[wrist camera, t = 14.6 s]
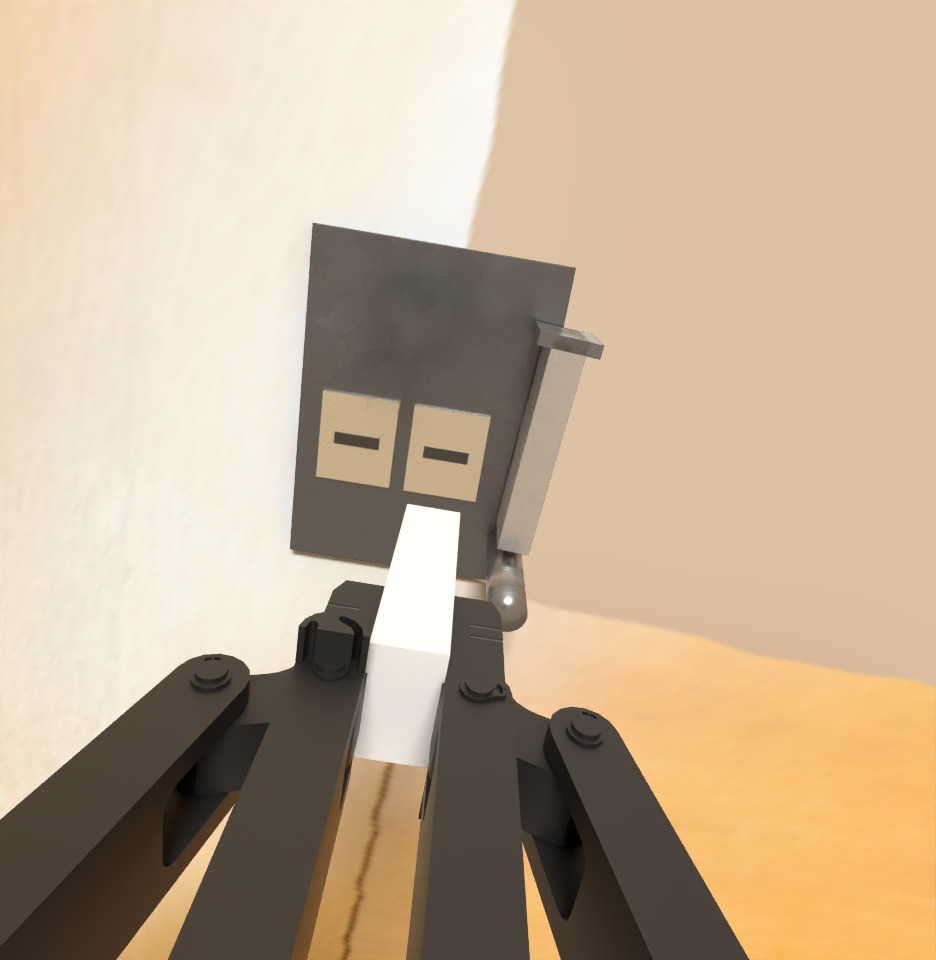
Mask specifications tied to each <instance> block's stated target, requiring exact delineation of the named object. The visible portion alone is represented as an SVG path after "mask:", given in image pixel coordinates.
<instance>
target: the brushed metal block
mask: <svg viewBox="0 0 936 960" xmlns="http://www.w3.org/2000/svg"><path fill="white" fill-rule="evenodd" d="M532 334H533V337H534V339H535V341H536V343H537V345H540V346H542V349H541V353H540V357H539V361H538V364H537V368H536V372H535V376H534V380H533V383H532V387H531V391H530V395H529V398H528V402H527V406H526V410H525V414H524V417H523V421H522V425H521V429H520V432H519V436H518V440H517V444H516V448H515V451H514V455H513V459H512V463H511V467H510V470H509V474H508V478H507V482H506V485H505V489H504V493H503V497H502V501H501V504H500V508H499V512H498V516H497V549H501V550H505V551H510V552H514V553H519V554H524V555H529V551H530V548H531V545H532V541H533V538H534V534H535V531H536V527H537V524H538V521H539V517H540V513H541V510H542V507H543V503H544V500H545V496H546V493H547V489H548V486H549V483H550V479H551V476H552V472H553V469H554V465H555V462H556V459H557V455H558V452H559V448H560V445H561V441H562V438H563V434H564V431H565V428H566V424H567V421H568V417H569V414H570V410H571V407H572V403H573V400H574V396H575V393H576V389H577V386H578V383H579V379H580V376H581V372H582V369H583V365H584V362H585V358H586V356H587V357H591V358H595V359H599V360H600V358H601V355H602V351H603V348H604V345H603V344H602V343H601V342H600V341H599V340H598V339H597V338H596V337H594V336H593V335H592V334H589V333H584V332H580V331H576V330H572V329H567V328H563V327H559V326H555V325H551V324H546V323H542V322H538V321H535V325H534V329H533V333H532Z"/></svg>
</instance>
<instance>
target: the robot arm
mask: <svg viewBox="0 0 936 960" xmlns="http://www.w3.org/2000/svg"><path fill="white" fill-rule="evenodd" d="M459 524H460V513H459V512H453V511H447V510H441V509H435V508H429V507H423V506H417V505H411V504H407V507H406V511H405V515H404V518H403V522H402V526H401V529H400V533H399V537H398V540H397V544H396V548H395V551H394V555H393V559H392V562H391V566H390V570H389V573H388V577H387V581H386V584H385V586H379V585H373V584H367V583H360V582H354V581H348V580H346V581H345V582H344V583H342V584H341V585H340V586H338V587H337V588H336V589H334V590H333V592H332V595H331V597H330V600H329V602H328V605H327V607H326V609H325V612H323V613H317V614H314V615H312V616H310V617H308V618H306V619H305V620H304V621H303V622H302V623H301V624H300V625H299V631H298V641H297V652H296V662H295V665H294V666H293V667H292V668H290V669H287V670H284V671H281V672H277V673H270V674H259V675H250V671H249V669H248V667H247V666H246V665H245V663H244V662H243V661H241V660H239V659H237V658H235V657H233V656H228V655H223V654H210V655H202V656H199V657H195V658H192V659H190V660H188V661H186V662H185V663H183V664H181V665H180V666H178V667H177V668H176V669H175V670H174V671H173V672H171V673H170V674H169V675H168V676H167V677H166V678H164V679H163V680H162V681H161V682H160V683H159V684H157V685H156V686H155V687H154V688H153V689H152V690H150V691H149V692H148V693H147V694H146V695H145V696H143V697H142V698H141V699H140V700H139V701H138V702H136V703H135V704H134V705H133V706H132V707H131V708H130V709H128V710H127V711H126V712H125V713H124V714H123V715H121V716H120V717H119V718H118V719H117V720H116V721H114V722H113V723H112V724H111V725H110V726H109V727H107V728H106V729H105V730H104V731H103V732H102V733H100V734H99V735H98V736H97V737H96V738H95V739H94V740H92V741H91V742H90V743H89V744H88V745H87V746H85V747H84V748H83V749H82V750H81V751H80V752H78V753H77V754H76V755H75V756H74V757H73V758H71V759H70V760H69V761H68V762H67V763H66V764H64V765H63V766H62V767H61V768H60V769H59V770H57V771H56V772H55V773H54V774H53V775H52V776H51V777H49V778H48V779H47V780H46V781H45V782H44V783H42V784H41V785H40V786H39V787H38V788H37V789H35V790H34V791H33V792H32V793H31V794H30V795H28V796H27V797H26V798H25V799H24V800H23V801H21V802H20V803H19V804H18V805H17V806H16V807H15V808H13V809H12V810H11V811H10V812H9V813H8V814H6V815H5V816H4V817H3V818H2V819H1V820H0V960H116V959H117V958H118V957H119V955H120V954H121V953H122V951H123V950H124V949H125V947H126V946H127V945H128V944H129V942H130V941H131V940H132V938H133V937H134V936H135V934H136V933H137V932H138V930H139V929H140V928H141V926H142V925H143V924H144V922H145V921H146V920H147V919H148V917H149V916H150V915H151V913H152V912H153V911H154V909H155V908H156V907H157V905H158V904H159V903H160V901H161V900H162V899H163V897H164V896H165V895H166V893H167V892H168V891H169V890H170V888H171V887H172V886H173V884H174V883H175V882H176V880H177V879H178V878H179V876H180V875H181V874H182V872H183V871H184V870H185V868H186V867H187V866H188V865H189V863H190V862H191V861H192V859H193V858H194V857H195V855H196V854H197V853H198V851H199V850H200V849H201V847H202V846H203V845H204V843H205V842H206V841H207V840H208V838H209V837H210V836H211V834H212V833H213V832H214V830H215V829H216V828H217V826H218V825H219V824H220V822H221V821H222V820H223V818H224V817H225V816H226V814H227V813H228V812H229V811H230V809H231V808H232V807H233V805H234V804H235V805H234V807H233V809H232V812H231V814H230V816H229V819H228V821H227V823H226V826H225V828H224V830H223V833H222V835H221V837H220V840H219V842H218V844H217V847H216V849H215V851H214V854H213V856H212V858H211V861H210V863H209V865H208V868H207V870H206V872H205V875H204V877H203V879H202V882H201V884H200V886H199V889H198V891H197V893H196V896H195V898H194V900H193V903H192V905H191V907H190V910H189V912H188V914H187V917H186V919H185V921H184V924H183V926H182V928H181V931H180V933H179V935H178V938H177V940H176V942H175V945H174V947H173V949H172V952H171V954H170V956H169V959H168V960H307V957H308V953H309V949H310V945H311V940H312V936H313V932H314V928H315V923H316V919H317V915H318V911H319V907H320V902H321V898H322V894H323V890H324V885H325V881H326V877H327V873H328V869H329V864H330V860H331V856H332V852H333V848H334V843H335V839H336V835H337V831H338V826H339V822H340V818H341V814H342V810H343V805H344V801H345V797H346V793H347V788H348V784H349V780H350V774H351V767H352V760H353V757H357V758H364V759H370V760H377V761H384V762H391V763H397V764H404V765H411V766H417V767H424V768H428V772H427V777H426V782H425V787H424V792H423V797H422V803H421V808H420V813H419V818H418V819H421V824H420V833H419V843H418V852H417V862H416V871H415V881H414V890H413V900H412V909H411V919H410V928H409V938H408V947H407V957H406V960H530V955H529V940H528V925H527V910H526V895H525V879H524V864H523V849H522V842H523V845H524V848H525V851H526V854H527V857H528V860H529V863H530V866H531V869H532V872H533V875H534V878H535V881H536V884H537V888H538V891H539V894H540V897H541V900H542V903H543V906H544V909H545V912H546V915H547V918H548V921H549V924H550V927H551V930H552V933H553V936H554V939H555V943H556V946H557V949H558V952H559V955H560V958H561V960H749V958H748V957H747V955H746V953H745V952H744V950H743V948H742V946H741V945H740V943H739V941H738V939H737V938H736V936H735V934H734V932H733V931H732V929H731V927H730V926H729V924H728V922H727V920H726V919H725V917H724V915H723V913H722V912H721V910H720V908H719V906H718V905H717V903H716V901H715V900H714V898H713V896H712V894H711V893H710V891H709V889H708V887H707V886H706V884H705V882H704V880H703V879H702V877H701V875H700V874H699V872H698V870H697V868H696V867H695V865H694V863H693V861H692V860H691V858H690V856H689V854H688V853H687V851H686V849H685V847H684V846H683V844H682V842H681V841H680V839H679V837H678V835H677V834H676V832H675V830H674V828H673V827H672V825H671V823H670V821H669V820H668V818H667V816H666V815H665V813H664V811H663V809H662V808H661V806H660V804H659V802H658V801H657V799H656V797H655V795H654V794H653V792H652V790H651V789H650V787H649V785H648V783H647V782H646V780H645V778H644V776H643V775H642V773H641V771H640V769H639V768H638V766H637V764H636V763H635V761H634V759H633V757H632V756H631V754H630V752H629V750H628V749H627V747H626V745H625V743H624V742H623V740H622V738H621V737H620V735H619V733H618V731H617V730H616V729H615V728H614V726H613V725H612V724H611V723H610V722H609V721H608V720H606V719H605V718H604V717H602V716H601V715H599V714H598V713H595V712H593V711H590V710H588V709H585V708H577V707H568V708H563V709H560V710H558V711H557V712H555V713H554V714H553V715H552V717H551V719H548V718H546V717H543V716H541V715H538V714H536V713H533V712H531V711H529V710H527V709H525V708H524V707H523V706H521V705H520V704H518V703H517V702H516V701H515V700H514V699H513V698H512V693H511V690H510V687H509V686H508V685H507V684H506V683H505V673H504V655H503V643H502V641H503V637H502V619H501V614H500V613H499V611H498V610H497V608H496V607H495V606H494V604H493V603H492V602H488V601H482V600H475V599H469V598H463V597H457V596H454V593H455V579H456V566H457V552H458V538H459ZM353 755H354V756H353ZM428 765H429V766H428Z"/></svg>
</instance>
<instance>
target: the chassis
mask: <svg viewBox="0 0 936 960" xmlns="http://www.w3.org/2000/svg"><path fill="white" fill-rule="evenodd" d="M575 270H576V268H575V267H569V266H564V265H558V264H552V263H546V262H540V261H535V260H528V259H522V258H517V257H511V256H505V255H500V254H494V253H488V252H482V251H476V250H470V249H465V248H459V247H453V246H447V245H441V244H435V243H430V242H424V241H418V240H412V239H406V238H400V237H395V236H389V235H383V234H377V233H371V232H365V231H360V230H354V229H348V228H342V227H336V226H330V225H324V224H319V223H313V227H312V242H311V256H310V270H309V284H308V299H307V313H306V327H305V341H304V356H303V370H302V384H301V398H300V413H299V427H298V441H297V456H296V470H295V484H294V498H293V513H292V527H291V541H290V549H293V550H299V551H306V552H312V553H318V554H325V555H331V556H337V557H344V558H350V559H356V560H363V561H369V562H375V563H382V564H388V565H391V562H392V559H393V555H394V551H395V548H396V544H397V540H398V537H399V533H400V529H401V526H402V522H403V518H404V515H405V511H406V507H407V504H411V505H417V506H423V507H429V508H435V509H441V510H447V511H453V512H459V513H460V524H459V538H458V552H457V566H456V575H457V576H464V577H470V578H476V579H483V580H486V601H488V602H492V603H493V604H494V606H495V607H496V608H497V610H498V611H499V613H500V614H501V619H502V631H503V632H510V631H514V630H517V629H519V628H520V627H521V626H522V625H523V624H524V623H525V621H526V619H527V603H526V593H525V583H524V573H523V563H522V554H519V553H514V552H510V551H505V550H501V549H497V516H498V512H499V508H500V504H501V501H502V497H503V493H504V489H505V485H506V482H507V478H508V474H509V470H510V467H511V463H512V459H513V455H514V451H515V448H516V444H517V440H518V436H519V432H520V429H521V425H522V421H523V417H524V414H525V410H526V406H527V402H528V398H529V395H530V391H531V387H532V383H533V380H534V376H535V372H536V368H537V364H538V361H539V357H540V353H541V349H542V346H540V345H537V343H536V341H535V339H534V337H533V334H532V333H533V329H534V325H535V321H538V322H542V323H546V324H551V325H555V326H559V327H564V322H565V318H566V313H567V308H568V303H569V298H570V293H571V289H572V284H573V279H574V274H575Z"/></svg>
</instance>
